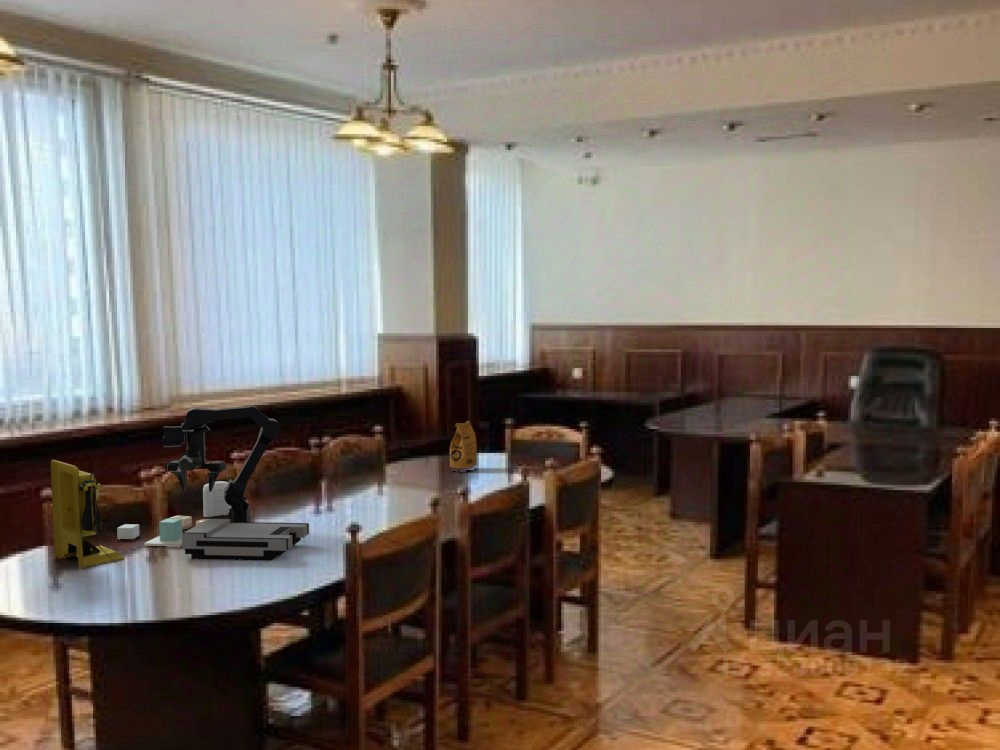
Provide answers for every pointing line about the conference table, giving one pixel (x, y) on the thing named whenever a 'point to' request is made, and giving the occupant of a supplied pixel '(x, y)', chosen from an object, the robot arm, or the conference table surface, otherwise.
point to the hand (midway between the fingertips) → (197, 491)
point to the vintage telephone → (77, 515)
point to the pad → (164, 542)
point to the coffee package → (463, 447)
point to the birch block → (184, 521)
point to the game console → (241, 539)
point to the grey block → (128, 531)
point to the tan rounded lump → (200, 521)
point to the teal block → (170, 529)
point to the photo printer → (215, 500)
